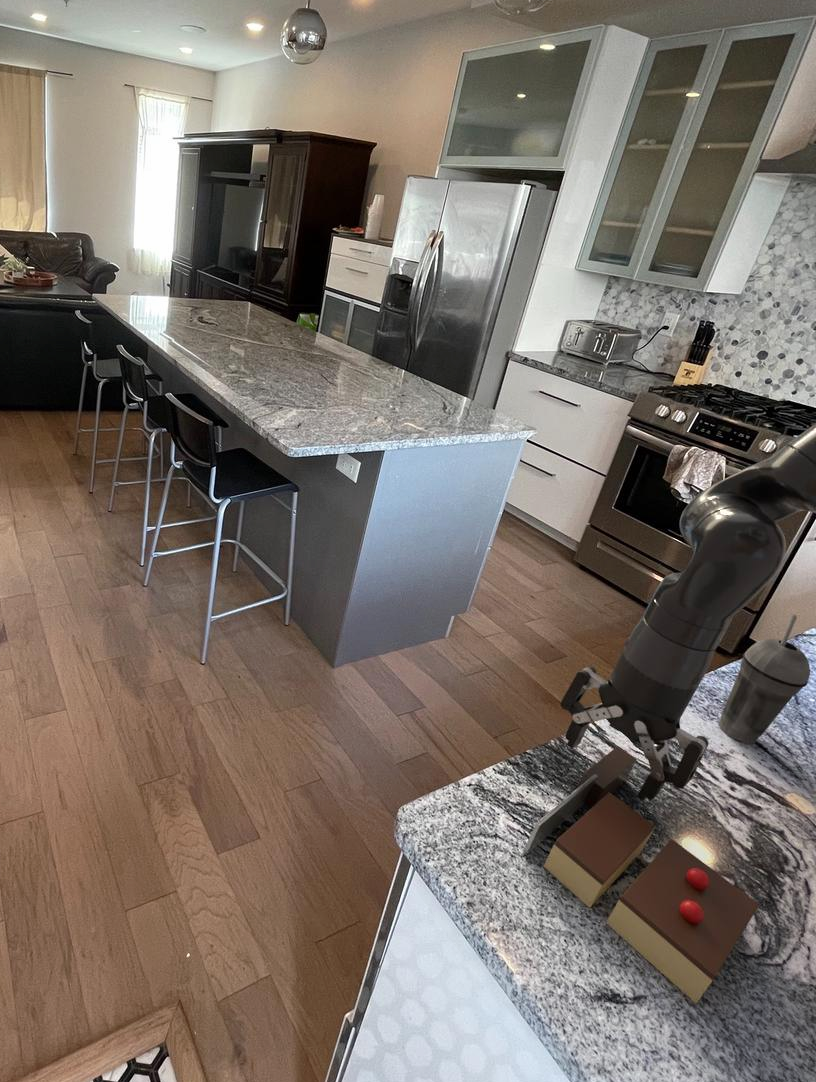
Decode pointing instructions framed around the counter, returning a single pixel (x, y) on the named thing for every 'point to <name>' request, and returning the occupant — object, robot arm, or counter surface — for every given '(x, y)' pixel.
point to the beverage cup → (764, 687)
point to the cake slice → (598, 848)
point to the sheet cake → (682, 918)
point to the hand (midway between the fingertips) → (606, 769)
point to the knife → (585, 793)
